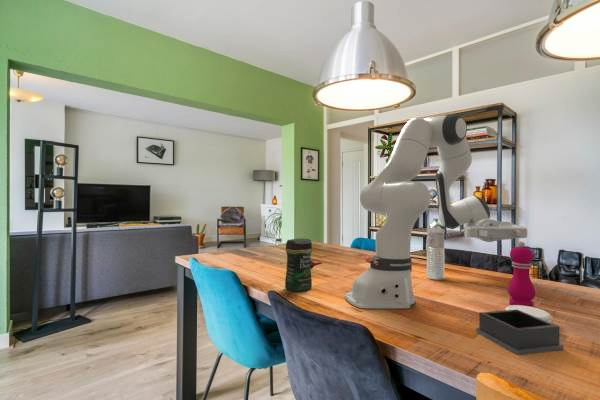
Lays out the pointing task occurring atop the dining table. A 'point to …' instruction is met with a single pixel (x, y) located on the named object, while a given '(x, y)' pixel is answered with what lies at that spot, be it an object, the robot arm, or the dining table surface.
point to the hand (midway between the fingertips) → (503, 234)
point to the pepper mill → (521, 277)
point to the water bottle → (435, 251)
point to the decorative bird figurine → (313, 264)
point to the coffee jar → (298, 265)
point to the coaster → (531, 311)
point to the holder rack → (519, 331)
